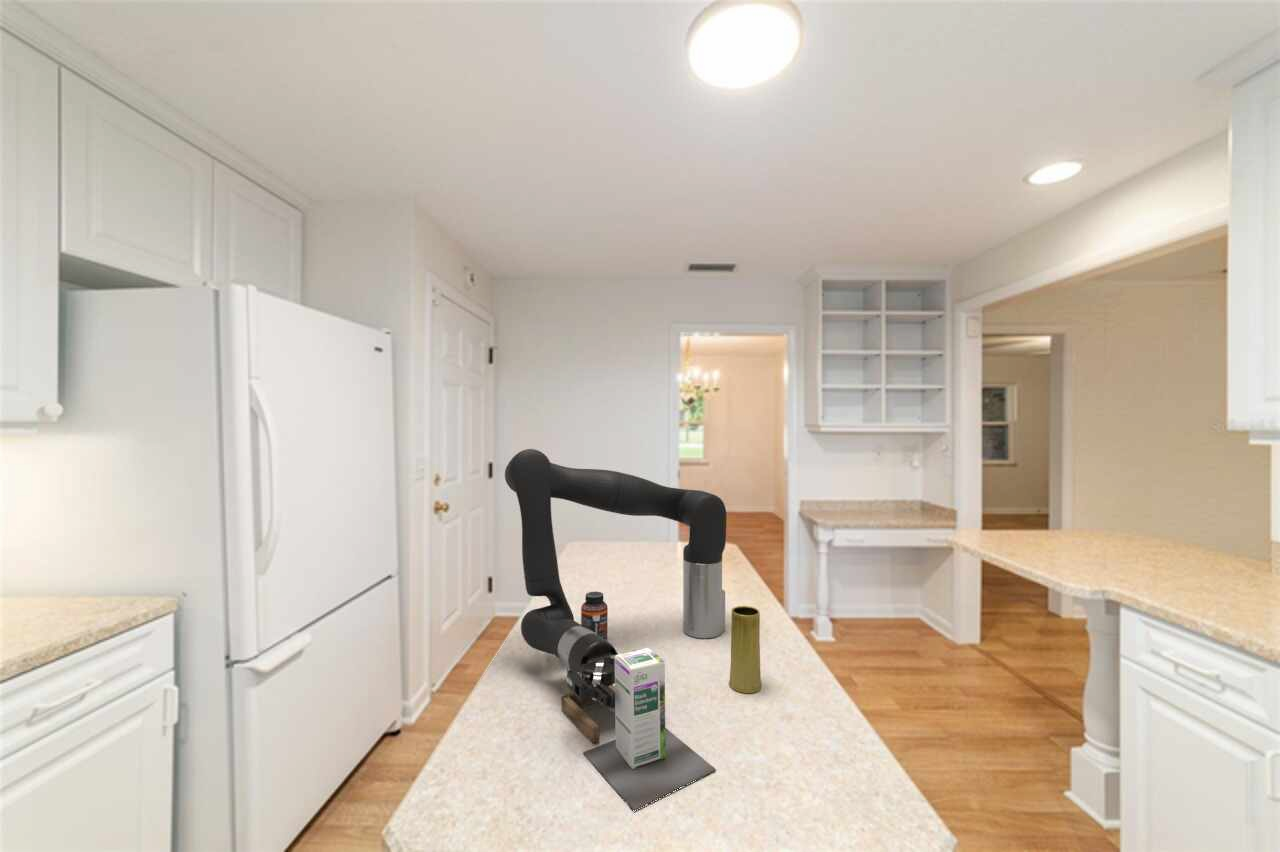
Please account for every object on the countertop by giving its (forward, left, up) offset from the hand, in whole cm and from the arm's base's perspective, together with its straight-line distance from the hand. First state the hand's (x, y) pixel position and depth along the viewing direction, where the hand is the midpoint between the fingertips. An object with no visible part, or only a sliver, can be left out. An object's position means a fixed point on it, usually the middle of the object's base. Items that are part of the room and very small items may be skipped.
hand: (637, 693), depth 79 cm
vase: (-28, -5, -9) cm, 29 cm away
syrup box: (0, +1, -8) cm, 9 cm away
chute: (0, -3, -9) cm, 9 cm away
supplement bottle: (-13, -37, -9) cm, 40 cm away
